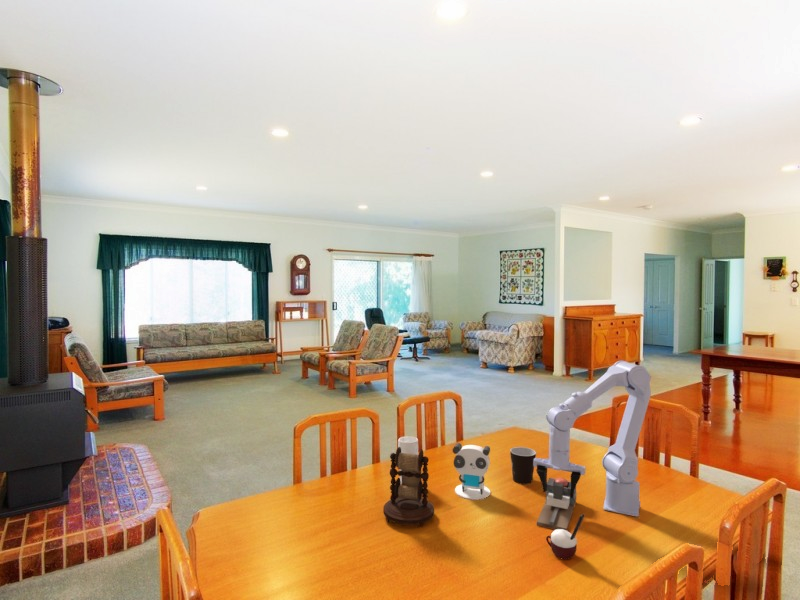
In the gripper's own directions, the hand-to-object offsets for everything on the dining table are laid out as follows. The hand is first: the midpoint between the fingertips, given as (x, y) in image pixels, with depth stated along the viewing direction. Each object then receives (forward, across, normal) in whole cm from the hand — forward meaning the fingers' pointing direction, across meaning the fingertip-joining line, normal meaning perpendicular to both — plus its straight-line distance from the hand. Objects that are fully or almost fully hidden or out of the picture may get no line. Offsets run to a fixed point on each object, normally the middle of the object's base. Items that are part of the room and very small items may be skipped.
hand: (558, 493), depth 143 cm
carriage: (+3, 0, 0) cm, 3 cm away
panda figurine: (+5, -27, 0) cm, 28 cm away
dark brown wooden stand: (+6, -38, -24) cm, 45 cm away
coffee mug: (+5, -14, +18) cm, 24 cm away
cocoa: (+6, +5, -24) cm, 25 cm away
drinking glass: (+5, -48, -4) cm, 48 cm away
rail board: (+5, 0, -2) cm, 5 cm away
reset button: (-1, 0, +6) cm, 6 cm away
